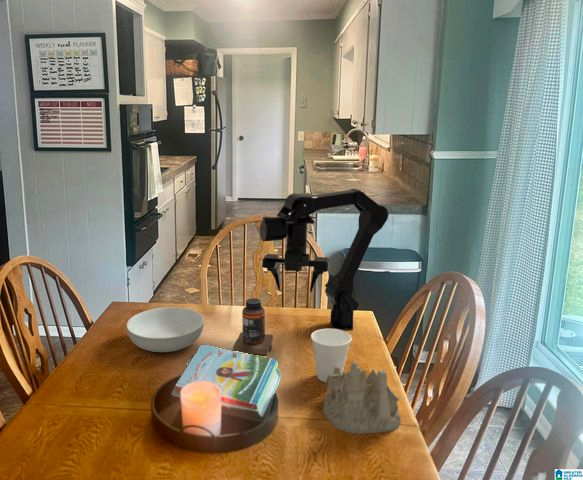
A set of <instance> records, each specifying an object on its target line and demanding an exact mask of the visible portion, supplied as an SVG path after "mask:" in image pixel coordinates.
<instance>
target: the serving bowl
mask: <svg viewBox="0 0 583 480" xmlns="http://www.w3.org/2000/svg"><path fill="white" fill-rule="evenodd" d="M204 325H205V319H204V316H203V314H201V313H199V312H198V311H196V310H194V309H191V308H185V307H178V306H177V307H175V306H167V307H166V306H165V307H158V308H156V307H155V308H151V309H148V310H143V311H142V312H139V313H136V314H135V315H133V316H132V317H130V318H129V319H128V320H127V323H126V325H125V326H126V327H125V328H126V331H127V334H128V336H129V339H130V340H131V342H132V343H133V344H134V345H136V346H137V347H139V348H141V349H143V350H145V351H149V352H153V353H154V352H155V353H169V352H176V351H180V350H184V349H185V348H187V347H189V346H191V345H193V344H194V343H195V342H196V341H197V340H198V339H199V338H200V336H201V334H202V333H203V330H204Z"/></svg>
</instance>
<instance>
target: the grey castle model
mask: <svg viewBox="0 0 583 480" xmlns="http://www.w3.org/2000/svg"><path fill="white" fill-rule="evenodd" d="M387 377H388V376H387V372H386V370H383V369H380V370H378V371H376V370H375V369H372V370H371V372H369V374H368V375H367V372H366V369H361V367H360V366H359V365H358V363H357V362H356V361H352V362H351V364H350V367H349V371H344V370H342V369H341V368H340V367H339V366H335V368H334V372H333V373H331V374H330V375H329V376H328V377H327V381H326V383H325V382H324V383H325V386H326V387H327V388H326V389H327V390H326V395H325V397H324V400H323V406H322V407H323V408H322V414H323V415H324V417H325V418H327V420H328V422H329V423H330V424H331V425H332V426H333V427H334V428H336V429H338V430H341V431H343V432H345V433H350V434H356V435H358V434H360V435H362V434H372V433H376V434H377V433H386V432H393V431H396V430H397V429H399V428H400V426H401V423H402V422H401V417H400V413H399V411H398V410H399V406H398V401H400V398H399V397H398V395H396V394H395V392H394V391H393V390H392V389H391V387H390V386H389V385H388V378H387Z"/></svg>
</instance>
